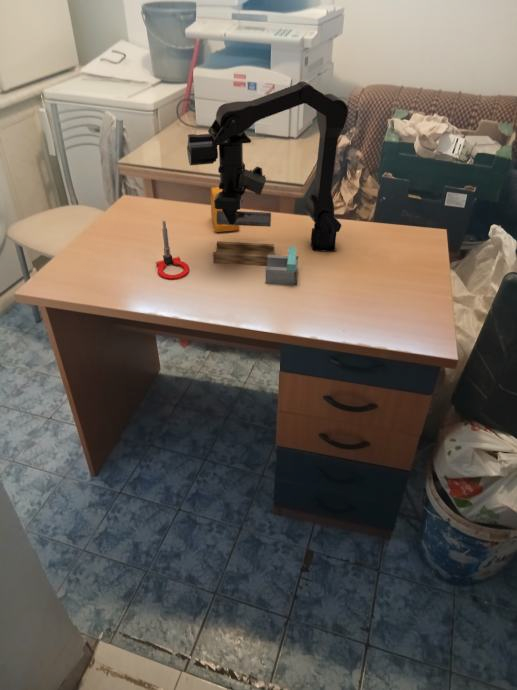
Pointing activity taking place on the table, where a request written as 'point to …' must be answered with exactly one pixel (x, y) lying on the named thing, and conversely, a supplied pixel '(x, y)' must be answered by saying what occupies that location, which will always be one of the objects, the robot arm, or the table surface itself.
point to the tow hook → (170, 260)
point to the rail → (242, 253)
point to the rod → (246, 218)
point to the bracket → (214, 213)
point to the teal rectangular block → (291, 259)
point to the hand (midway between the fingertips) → (232, 220)
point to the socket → (280, 271)
